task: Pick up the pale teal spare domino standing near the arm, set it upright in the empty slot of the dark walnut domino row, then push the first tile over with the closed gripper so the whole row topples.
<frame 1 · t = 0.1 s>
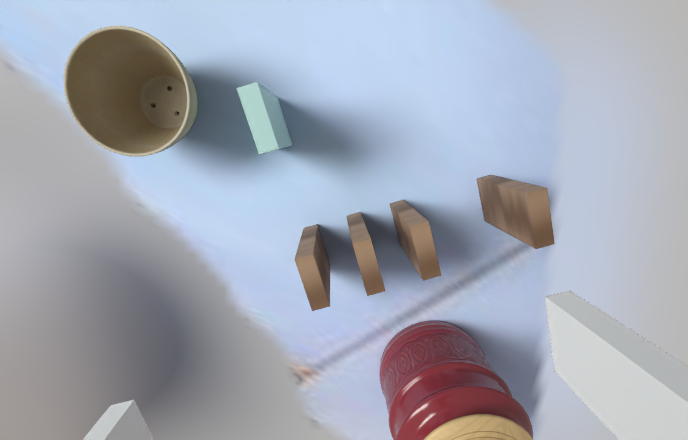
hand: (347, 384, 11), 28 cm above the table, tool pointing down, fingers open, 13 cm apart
canister: (428, 362, 43), on the table
domino 1: (317, 246, 39), on the table
domino 2: (359, 234, 38), on the table
domino 3: (401, 222, 38), on the table
flower pot: (168, 102, 35), on the table
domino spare: (277, 123, 35), on the table
domino 5: (487, 198, 38), on the table
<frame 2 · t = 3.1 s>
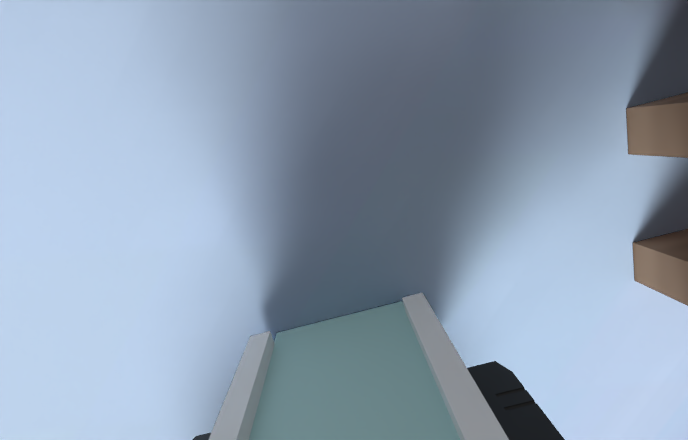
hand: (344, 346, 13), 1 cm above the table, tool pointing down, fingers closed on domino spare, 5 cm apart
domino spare: (344, 334, 13), on the table, touching gripper
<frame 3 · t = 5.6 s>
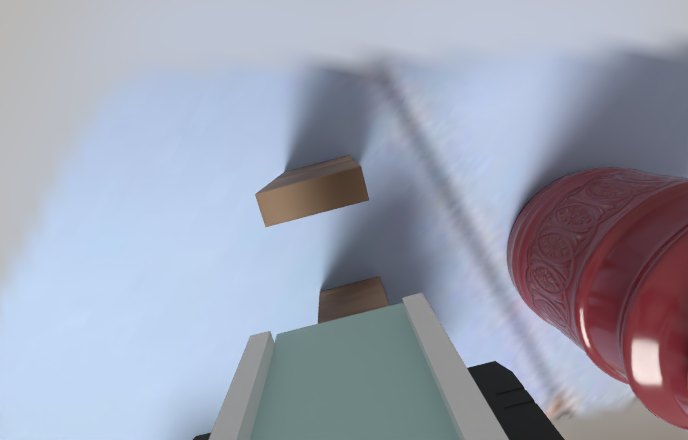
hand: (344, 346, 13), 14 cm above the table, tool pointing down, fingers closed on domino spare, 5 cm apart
canister: (579, 245, 28), on the table
domino 3: (351, 292, 28), on the table
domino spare: (344, 336, 13), point 14 cm above the table, touching gripper
domino 5: (319, 174, 25), on the table
when the fingers open (2 cm above the table, at t = 8.1 s): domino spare stays where it is, on the table.
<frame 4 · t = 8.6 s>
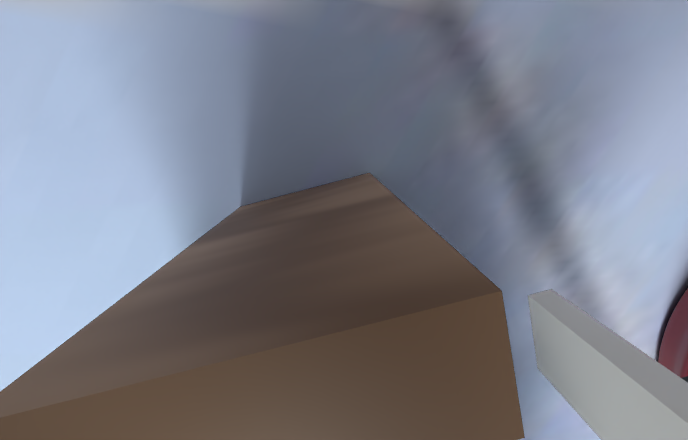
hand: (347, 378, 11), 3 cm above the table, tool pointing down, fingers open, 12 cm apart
domino 5: (310, 209, 13), on the table
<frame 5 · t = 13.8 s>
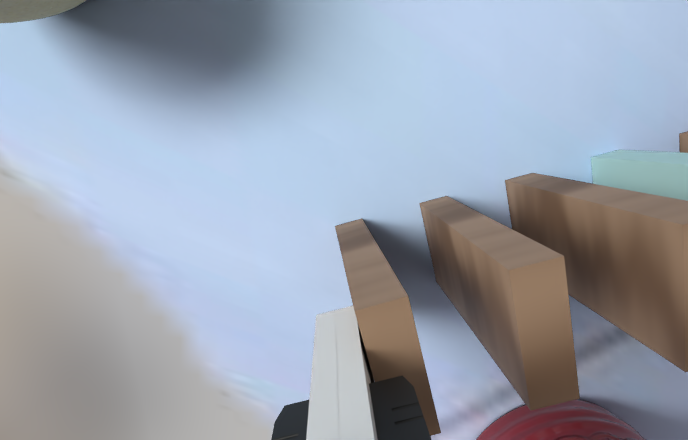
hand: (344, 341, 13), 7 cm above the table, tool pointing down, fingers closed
domino 1: (359, 261, 20), on the table, touching gripper
domino 2: (441, 239, 20), on the table
domino 3: (524, 217, 20), on the table
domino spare: (607, 195, 20), on the table
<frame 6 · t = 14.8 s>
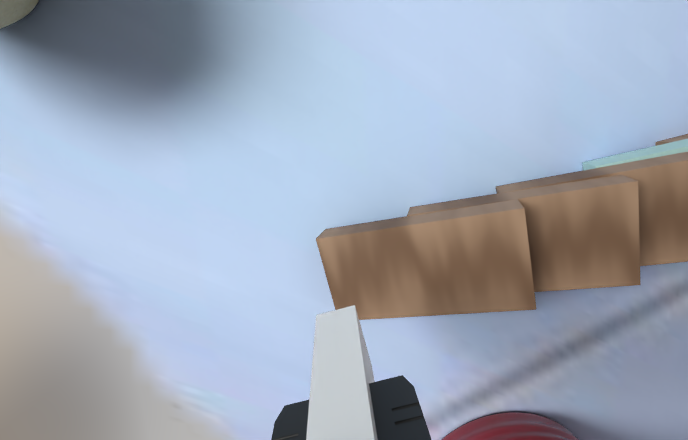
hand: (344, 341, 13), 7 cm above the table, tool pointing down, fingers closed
domino 1: (332, 274, 19), point 1 cm above the table, tilted 71°, touching domino 2
domino 2: (416, 253, 19), point 1 cm above the table, tilted 71°, touching domino 1, domino 3
domino 3: (504, 232, 19), point 1 cm above the table, tilted 71°, touching domino 2, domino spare
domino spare: (593, 207, 19), point 1 cm above the table, tilted 75°, touching domino 3, domino 5
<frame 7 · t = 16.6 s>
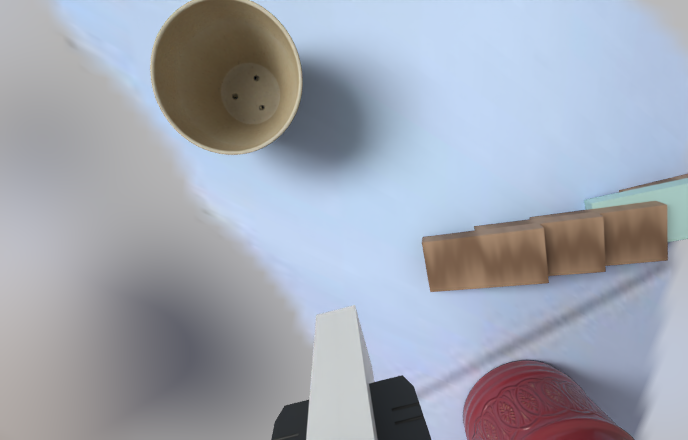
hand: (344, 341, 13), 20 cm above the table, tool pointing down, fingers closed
canister: (516, 407, 37), on the table
domino 1: (426, 264, 32), point 1 cm above the table, tilted 72°, touching domino 2
domino 2: (478, 253, 32), point 1 cm above the table, tilted 73°, touching domino 1, domino 3
domino 3: (534, 244, 32), point 1 cm above the table, tilted 73°, touching domino 2, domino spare
flower pot: (252, 94, 30), on the table
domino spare: (591, 226, 32), point 1 cm above the table, tilted 73°, touching domino 3, domino 5
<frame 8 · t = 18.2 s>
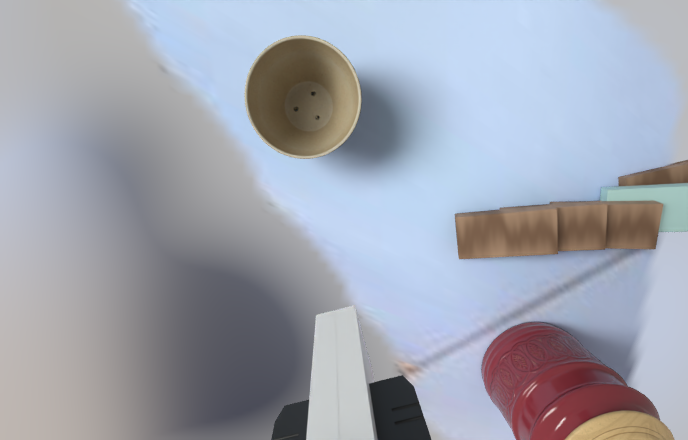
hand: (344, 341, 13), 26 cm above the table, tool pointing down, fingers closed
canister: (526, 362, 45), on the table
domino 1: (456, 236, 39), point 1 cm above the table, tilted 73°, touching domino 2
domino 2: (501, 230, 39), point 1 cm above the table, tilted 73°, touching domino 1, domino 3
domino 3: (550, 224, 39), point 1 cm above the table, tilted 73°, touching domino 2, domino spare
flower pot: (308, 106, 36), on the table
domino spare: (602, 210, 39), point 1 cm above the table, tilted 73°, touching domino 3, domino 5
domino 5: (620, 198, 39), on the table, tilted 90°, touching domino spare
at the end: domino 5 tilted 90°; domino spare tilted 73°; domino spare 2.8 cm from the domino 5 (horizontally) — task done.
